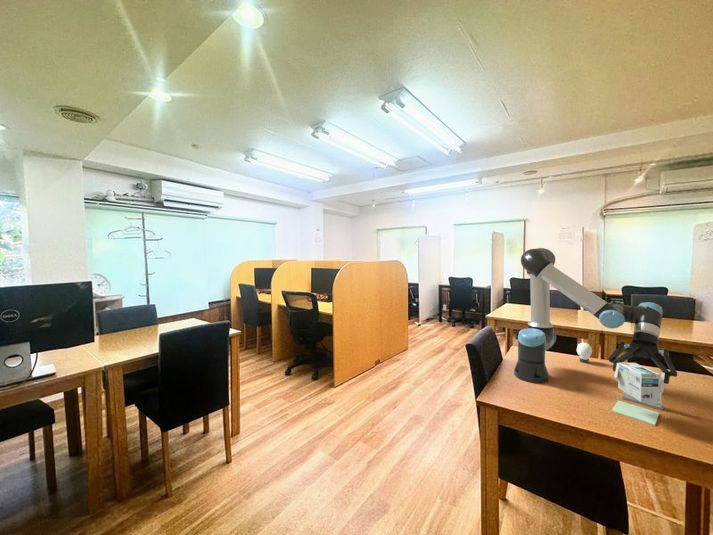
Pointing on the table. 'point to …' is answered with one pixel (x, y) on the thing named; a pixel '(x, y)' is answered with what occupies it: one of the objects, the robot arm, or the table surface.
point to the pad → (636, 412)
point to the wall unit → (650, 404)
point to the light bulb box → (639, 382)
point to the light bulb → (584, 352)
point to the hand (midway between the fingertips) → (637, 384)
